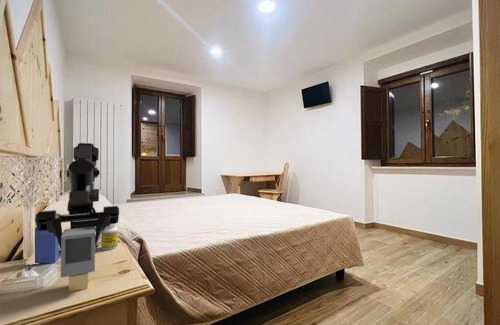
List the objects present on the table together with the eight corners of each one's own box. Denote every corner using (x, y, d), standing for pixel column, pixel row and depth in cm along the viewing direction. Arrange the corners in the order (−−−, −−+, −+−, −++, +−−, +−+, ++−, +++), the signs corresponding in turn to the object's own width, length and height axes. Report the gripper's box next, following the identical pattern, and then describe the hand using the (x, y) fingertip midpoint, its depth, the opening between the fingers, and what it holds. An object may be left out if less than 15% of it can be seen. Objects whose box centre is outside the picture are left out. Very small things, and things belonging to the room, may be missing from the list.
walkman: (58, 259, 83) (59, 223, 82) (55, 262, 80) (55, 225, 80) (29, 262, 80) (29, 225, 80) (24, 265, 77) (25, 227, 77)
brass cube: (70, 285, 66) (70, 270, 66) (88, 282, 68) (88, 267, 68) (68, 292, 62) (68, 277, 62) (87, 288, 65) (87, 273, 65)
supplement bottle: (117, 244, 98) (117, 220, 98) (118, 248, 93) (118, 223, 93) (101, 247, 95) (101, 222, 95) (101, 251, 90) (102, 225, 90)
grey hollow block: (64, 266, 66) (64, 229, 66) (94, 261, 70) (95, 226, 70) (60, 277, 60) (61, 236, 60) (94, 271, 64) (95, 232, 64)
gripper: (36, 180, 63) (25, 234, 54) (119, 178, 73) (121, 224, 64) (42, 205, 70) (33, 258, 61) (117, 201, 80) (119, 245, 71)
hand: (78, 245), depth 64 cm, fingers closed on grey hollow block, 7 cm apart
